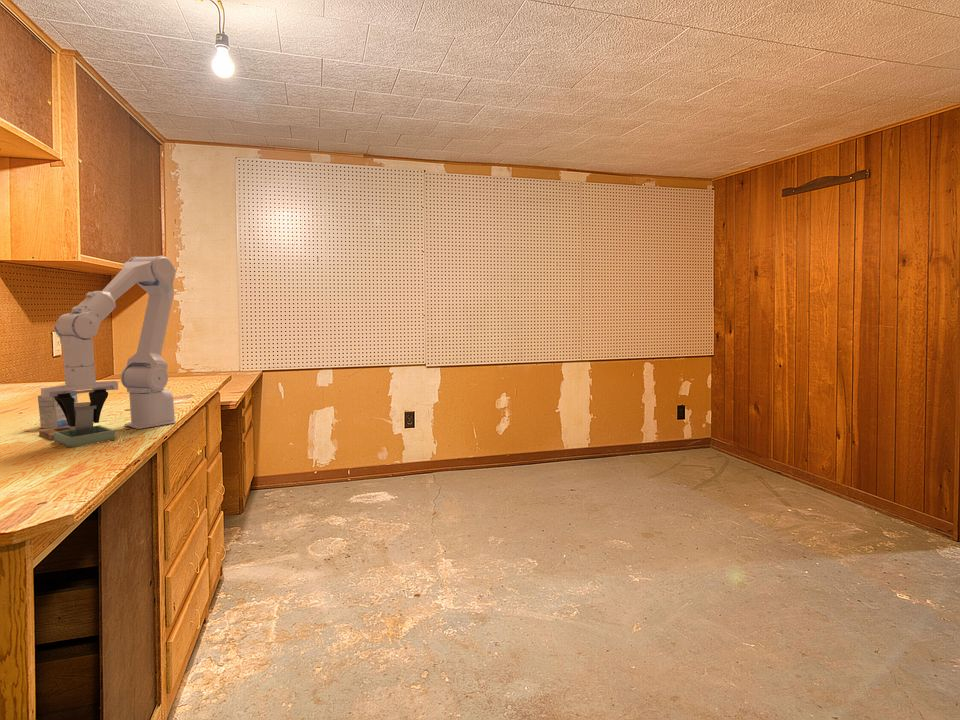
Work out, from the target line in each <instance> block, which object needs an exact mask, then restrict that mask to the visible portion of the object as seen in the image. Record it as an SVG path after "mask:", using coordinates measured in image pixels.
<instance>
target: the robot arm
mask: <svg viewBox="0 0 960 720" xmlns="http://www.w3.org/2000/svg"><path fill="white" fill-rule="evenodd" d="M176 271H177V270H176V267H175V266H174V264H173V262H172V261H171V260H170V258H169V257H167V256H165V255H158V256H132V257H130V258H129V259H128V260H127V261H125V262H124V263H123V264H122V269H121V270H120V271H119V272H118V273H117V274H116V275H115V276H114V278H112V279H111V281H110V282H108V284H107V285H106V286H105V287H104V288H103V289H102V290H94V291H88V292H87V293H86V294H85V298H84V299H83V300H82V301H81V302H80V303H79V304H77V305H76V306H73V307H72V308H71V311H70V313H63V314H61V315H60V316H59V317H58V318H57V320H56V322H55V325H53V331H54V333H55V334H56V336H58V338H59V342H60V344H61V346H62V359H63V361H62V362H63V370H64V371H63V372H64V373H63V374H64V383H65V384H64V385H59V386H58V385H57V386H50V387H49V386H48V387H42V388H40V395H41V397H44V398H47V397H52V396H54V399H55V400H56V402H57V403H58V404H59V406H60V407H61V409H62V411H63V412H64V415H65V417H66V419H67V422H68V425H67V426H70V427H73V426H75V418H74V398H73V397H72V396H70V394H77V395H78V394H85V393H87V394H88V397H89V402H90V403H92V404H94V405H96V409H94V414H93V424H99V423H100V418H101V414H102V413H101V412H102V410H103V407H104V406H105V405H104V404H105V403H106V400H107V399H108V396H109V392H108V391H116V390H119V381H116V380H109V381H98V382H97V381H96V379H97V378H96V367H95V353H94V337H95V336H97V335H98V332H99V330H100V325H101V323H102V322H103V320H105V318H107V317H108V316H109V315H110V314H111V313H112V311H114V310H115V309H116V307H117V304H116V301H117V300H118V299H119V298H120V297H122V296H123V295H124V294H125V293H126V292H127V291H128V290H130V289H131V288H132V287H134V285H136V284H137V285H138V286H139V287H140V288H141V289H143V290H144V291H145V292H146V293H147V294H148V299H147V305H146V308H145V312H144V318H143V321H142V325H141V326H142V327H141V331H140V337H139V340H138V346H137V350H136V353H134V354H133V355H132V356H131V357H129V359H127V362H126V365H125V367H124V368H123V369H122V371H121V374H120V382H121V384H122V385H123V387H124V388H126V392H128V393H129V394H128V395H129V408H130V410H129V411H130V422H125V423H124V425H125V426H126V427H130V428H133V429H136V430H140V429H147V428H152V427H153V428H154V427H159V426H164V425H169V424H175V423H177V420H175V419H176V418H175V404H174V397H173V393H172V391H170V390H169V389H166V388H165V387H166V385H167V384H168V380H169V374H168V366H169V364H168V363H167V361H166V360H165V359H164V358H163V357H162V351H163V347H164V341H165V337H166V333H167V327H168V324H169V320H170V319H169V318H170V313H171V309H172V304H173V300H174V299H173V298H174V296H175V295H174V294H175V292H174V290H175V289H174V281H175V276H176ZM164 388H165V389H164ZM73 391H74V392H73Z"/></svg>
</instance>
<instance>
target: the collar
mask: <svg viewBox="0 0 960 720" xmlns="http://www.w3.org/2000/svg"><path fill="white" fill-rule="evenodd" d="M65 430H70V426H68V425H67V426H62V427H56V428H41V429H38V435H39V436H41V437H43V438H45V439H48V440H50V441H54V432H59V431H65Z"/></svg>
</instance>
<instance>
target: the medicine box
mask: <svg viewBox="0 0 960 720" xmlns="http://www.w3.org/2000/svg"><path fill="white" fill-rule="evenodd" d="M74 391H75V390H73V392H74ZM70 396H72V397H73V398H74V403H79V399H78V394H70ZM37 401H38V402H37V403H38V413H39V423H40V429H49V428H56V427H62V426H68V422H67V419H66V417H65V415H64V412H63V411H62V409H61V407H60V406H59V404H58V403H57V402H56V400H55V399H54V396H52V397H47V398H44V397H41V394H40V395H38V396H37Z"/></svg>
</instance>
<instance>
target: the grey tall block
mask: <svg viewBox="0 0 960 720" xmlns="http://www.w3.org/2000/svg"><path fill="white" fill-rule="evenodd" d="M94 409H96V405H94V404H92V403H90V401H83V402H78V403H74V418H75V426H73V427H70V435H71V436H73V437H75V436H81V435H87V434H93V426H94V422H93V414H94Z"/></svg>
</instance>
